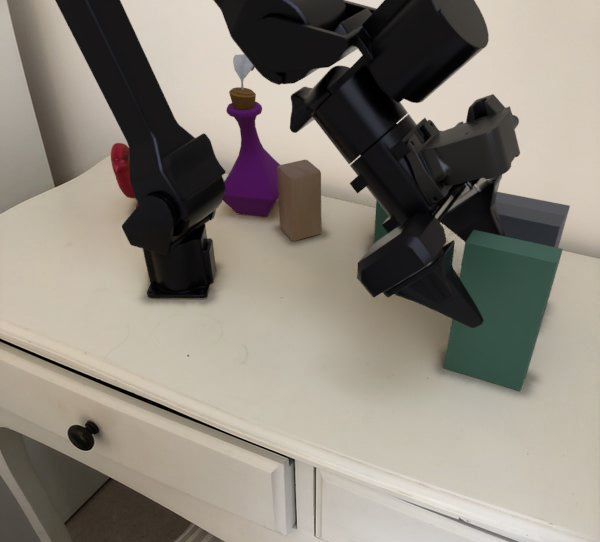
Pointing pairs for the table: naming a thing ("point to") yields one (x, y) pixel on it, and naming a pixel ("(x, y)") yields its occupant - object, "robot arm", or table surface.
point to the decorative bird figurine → (122, 168)
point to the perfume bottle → (249, 154)
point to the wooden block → (299, 199)
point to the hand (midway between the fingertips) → (494, 295)
